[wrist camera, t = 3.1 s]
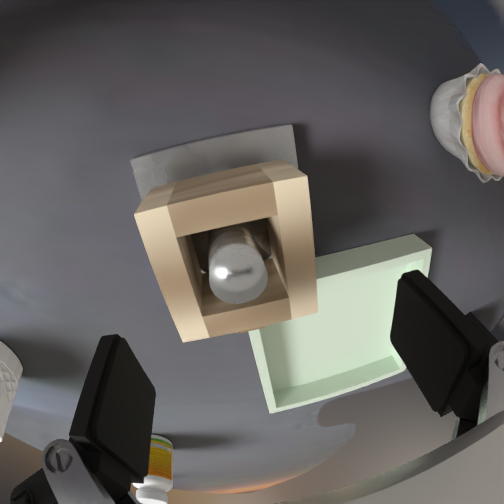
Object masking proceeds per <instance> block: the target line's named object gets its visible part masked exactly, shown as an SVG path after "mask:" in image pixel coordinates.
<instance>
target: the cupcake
mask: <svg viewBox="0 0 504 504" xmlns="http://www.w3.org/2000/svg"><path fill="white" fill-rule="evenodd" d="M430 120H431V125H432V129H433V132H434V135H435V136H436V138H437V140H438V141H439V143H440V144H441V145H442V146H443V147H444V149H445V150H447V151H448V152H450V153H451V154H453V155H454V156H456V157H457V158H459V159H460V160H461V161H462V162H463V163H464V165H465V166H466V168H467V169H468V170H470V171H472V172H474V173H475V174H476V175H477V176H478V177H479V179H480V180H481V181H482V182H483V183H485V182H488V181H489V180H490V179H491V178H493V179H494V180H495V181H499V180H500V179H501V178H502V176H504V75H502V74H501V73H500V71H499V70H498V69H495V70H493V71H491V72H490V71H489V70H488V69H487V68H486V67H485V66H484V65H483V64H481V63H480V64H479V65H478V66H477V67H475V68H474V69H473V70H472V71H471V72H470V73H468V74H465V75H464V76H461V77H459V78H456V79H453V80H450V81H447V82H444V83H442V84H441V85H440V86H439V87H438V88H437V89H436V91H435V93H434V94H433V97H432V100H431V105H430Z"/></svg>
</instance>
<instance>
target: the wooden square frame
mask: <svg viewBox="0 0 504 504" xmlns="http://www.w3.org/2000/svg"><path fill="white" fill-rule="evenodd" d="M134 216H135V219H136V222H137V225H138V228H139V231H140V234H141V237H142V240H143V243H144V246H145V248H146V251H147V254H148V257H149V259H150V262H151V265H152V268H153V270H154V273H155V276H156V278H157V281H158V283H159V286H160V288H161V291H162V294H163V296H164V298H165V301H166V303H167V306H168V308H169V311H170V313H171V315H172V318H173V320H174V323H175V325H176V327H177V329H178V332H179V334H180V336H181V339H182V341H183V342H188V341H194V340H199V339H205V338H210V337H215V336H220V335H225V334H230V333H235V332H238V333H243V332H248V331H252V330H257V329H261V328H265V326H266V325H271V324H275V323H279V322H283V321H287V320H291V319H295V318H299V317H303V316H307V315H311V314H315V313H318V298H317V280H316V265H315V251H314V239H313V227H312V216H311V206H310V196H309V187H308V178H307V175H305V174H304V173H302V172H301V171H299V170H298V169H297V168H295V167H294V166H292V165H291V164H289V163H288V162H286V161H285V160H283V159H282V160H276V161H270V162H265V163H260V164H254V165H249V166H244V167H239V168H234V169H229V170H225V171H220V172H215V173H211V174H206V175H202V176H198V177H193V178H189V179H185V180H181V181H177V182H173V183H169V184H165V185H161V186H158V187H154V188H151V189H150V191H149V192H148V193H147V195H146V196H145V198H144V199H143V201H142V202H141V204H140V205H139V207H138V209H137V210H136V212H135V213H134ZM262 218H266V222H267V228H268V234H269V240H270V247H271V253H272V258H270V259H266V260H263V262H264V265H265V267H266V270H267V274H268V281H267V285H266V287H265V289H264V290H263V292H262V293H261V294H260V295H259V296H258V297H257V298H255V299H253V300H252V301H249V302H246V303H241V304H232V303H228V302H225V301H222V300H221V299H219V298H218V297H217V296H216V295H215V294H214V293H213V291H212V290H211V287H210V283H209V272H207V273H202V272H201V268H200V265H199V262H198V258H197V255H196V251H195V248H194V244H193V241H192V237H191V234H194V233H198V232H202V231H207V230H211V229H216V228H220V227H225V226H229V225H234V224H238V223H243V222H248V221H252V220H257V219H262Z"/></svg>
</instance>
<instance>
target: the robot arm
mask: <svg viewBox="0 0 504 504" xmlns="http://www.w3.org/2000/svg"><path fill="white" fill-rule="evenodd" d="M390 341H391V343H392V345H393V347H394V348H395V350H396V351H397V353H398V355H399V356H400V358H401V359H402V361H403V362H404V364H405V365H406V367H407V369H408V370H409V372H410V373H411V375H412V377H413V378H414V380H415V382H416V383H417V385H418V386H419V388H420V390H421V391H422V393H423V395H424V396H425V398H426V400H427V401H428V403H429V405H430V406H431V408H432V409H433V410H434V411H435V412H437V411H438V413H439V414H440V416H441V417H442V416H444V415H446V414H448V413H450V412H451V411H454V413H455V415H456V420H455V425H454V430H453V434H452V439H451V441H450V442H448V443H447V444H445V445H443V446H441V447H439V448H437V449H435V450H434V451H431V452H430V453H428V454H426V455H424V456H422V457H419V458H417V459H415V460H413V461H411V462H409V463H407V464H404V465H402V466H400V467H397V468H395V469H393V470H390V471H388V472H385V473H383V474H380V475H378V476H375V477H373V478H370V479H367V480H364V481H361V482H358V483H355V484H352V485H349V486H346V487H343V488H340V489H336V490H333V491H329V492H325V493H322V494H318V495H314V496H310V497H306V498H301V499H296V500H292V501H287V502H281V503H276V504H504V341H503V342H498V343H496V344H495V345H493V346H492V348H490V347H489V346H488V344H489V341H488V340H487V339H486V338H485V337H484V336H483V335H482V334H481V332H480V331H479V330H478V329H477V328H476V327H475V326H474V325H473V324H472V323H471V322H470V320H469V319H468V318H467V317H466V316H465V315H464V314H463V313H462V312H461V311H460V310H459V309H458V308H457V307H456V306H455V305H454V304H453V303H452V302H451V301H450V300H449V299H448V298H447V297H446V296H445V295H444V294H443V293H442V292H441V291H440V290H439V289H438V288H437V287H436V286H435V285H434V284H433V283H432V282H431V281H430V280H429V279H428V278H427V277H426V276H425V275H424V274H423V273H422V272H421V271H419V270H417V269H416V270H412V271H409V272H406V273H403V274H402V275H401V278H400V279H399V280H398V282H397V291H396V299H395V306H394V313H393V319H392V326H391V332H390ZM155 397H156V392H155V388H154V386H153V384H152V383H151V381H150V380H149V378H148V377H147V375H146V373H145V372H144V370H143V369H142V367H141V365H140V364H139V362H138V360H137V359H136V357H135V355H134V354H133V352H132V350H131V348H130V347H129V345H128V343H127V341H126V340H125V339H124V338H121V337H120V336H119V335H118V334H114V335H106V336H102V337H101V339H100V341H99V344H98V346H97V349H96V352H95V354H94V357H93V360H92V363H91V365H90V368H89V371H88V374H87V377H86V380H85V383H84V386H83V389H82V392H81V395H80V398H79V402H78V405H77V408H76V411H75V415H74V418H73V422H72V425H71V429H70V433H69V436H70V438H69V441H68V440H64V439H57V440H54V441H52V442H51V443H49V444H48V445H47V446H46V448H45V449H44V451H43V454H42V461H41V463H42V467H43V468H42V469H40V470H39V471H37V472H36V473H35V474H33V475H32V476H30V477H29V478H28V479H26V480H25V481H23V482H22V483H21V484H19V485H18V486H17V487H16V488H14V490H13V492H12V493H11V498H10V504H141V503H140V502H139V501H138V500H137V498H136V497H135V496H134V495H133V493H132V492H131V491H130V486H131V483H140V484H144V477H146V476H147V475H148V470H149V457H150V445H151V434H152V424H153V414H154V406H155Z"/></svg>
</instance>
